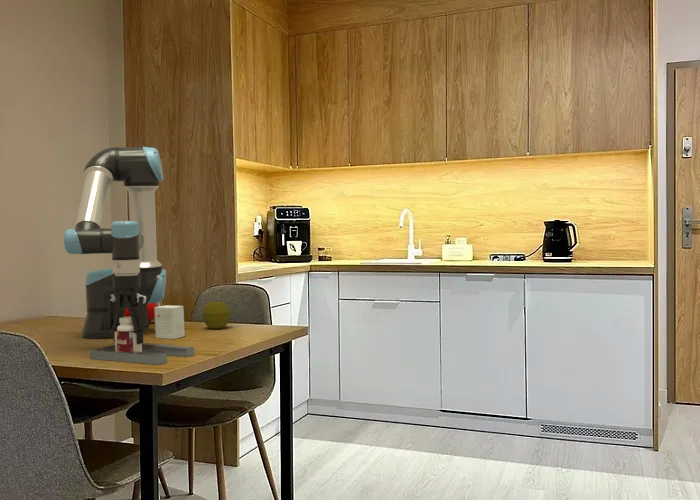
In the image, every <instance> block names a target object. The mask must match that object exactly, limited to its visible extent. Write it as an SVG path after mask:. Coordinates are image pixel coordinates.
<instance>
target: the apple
mask: <svg viewBox="0 0 700 500" xmlns="http://www.w3.org/2000/svg"><path fill="white" fill-rule="evenodd" d="M230 317H231V310H230V308H229V306H228V305H227V304H226V302H223V301H211V302H208V303H207V304H206V305H205V306H204V308H203V311H202V318H203V319H202V320H203V322H204V324H205V326H206V327H208V328H209V329H211V330H221V329H223V328H224V327H226V326H227V325H228V323H229V320H230V319H231V318H230Z"/></svg>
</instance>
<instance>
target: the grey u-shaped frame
mask: <svg viewBox="0 0 700 500" xmlns="http://www.w3.org/2000/svg"><path fill="white" fill-rule="evenodd" d="M168 356H169V357H182V358H188V357H192V356H195V347H194V346H192V345H189V346H188V345H178V344H177V345H175V344H163V343H149V342H148V343H146V342H143V343H142V352H138V351H131V352H120V351H115V344H113V345H107V346H103V347H99V348H94V349H90V350H89V359H90V360H102V361H113V362H121V363H122V362H125V363H135V364H145V365H154V366H155V365H157V366H159V365H162V364H163V365H164V364H166V363H168Z"/></svg>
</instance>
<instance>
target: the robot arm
mask: <svg viewBox="0 0 700 500" xmlns="http://www.w3.org/2000/svg"><path fill="white" fill-rule="evenodd" d="M82 181H83V187H82V188H83V189H82V193H81V197H80V202H79V208H78V213H77V216H76V221H75V225H74V227H73V228H68V229H66V230H65V231H64V235H63V245H64V249H65V252H66V253H67V254H69V255H91V254H93V255H94V254H96V255H97V254H111V257H112V258H111V261H112V262H111V263H112V267H107V268H100V269H95V270H91V271H89V272H87V274H86V276H85V284H84V285H85V294H86V295H85V297H86V299H85V300H86V315H85V320H84V325H83V328H82V329H81V336H82V338H86V339H108V338H113V339H112V340H113V343H114V345H115V351H118V346H117V327H118V326H119V325H120V322H119V318H121V317H124V314H125V310H126V309H128V310H129V311H130V315H131V318H132V322H133V326H134V329H135V332H134V333H133V351H138V352H142V343H144V332H146V331H149V329H150V321H148V310H147V303H148V304H150V303H156V304H157V303H161V302H162V301H163V300H164V297H165V292H166V286H167V285H166V284H167V270H166V269H165V268H163V267H162V266H163V265H162V263H161V262H160V261H159V260H158V250H157V249H158V247H157V246H158V245H157V244H158V243H157V222H156V221H157V219H156V196H155V195H156V193H155V192H156V191H157V189H159V187H160V183H161V182H163V181H164V172H163V165H162V159H161V156H160V153H159V150H158V149H157V148H155V147H149V146H137V147H136V146H131V147H130V146H129V147H127V146H119V147H118V146H112V147H107V148H104V149H101V150H100V151H98V152H97V153H96V154H94V155H93V156H92V157H91V158H90V159H89V160H88V161H87V163H86V164H85V166H84V169H83V171H82ZM115 182H121V183H122V182H123V188H125V190H127V191H128V199H129V200H128V205H129V206H128V207H129V220H127V221H126V220H122V221H117V220H115V221H113V222H112V223H111V228H109V227H108V228H103V222H104V217H105V213H106V212H105V210H106V205H107V199H108V194H109V188H110V187H111V186H112V185H113V183H115Z"/></svg>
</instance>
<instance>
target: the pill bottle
mask: <svg viewBox="0 0 700 500" xmlns="http://www.w3.org/2000/svg"><path fill="white" fill-rule="evenodd" d="M119 322H120V325H119V326H118V327H117V346H118V351H120V352H131V351H133V333H134V332H135V329H134V326H133V322H132V318H131V316H130V317H121V318H119Z"/></svg>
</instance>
